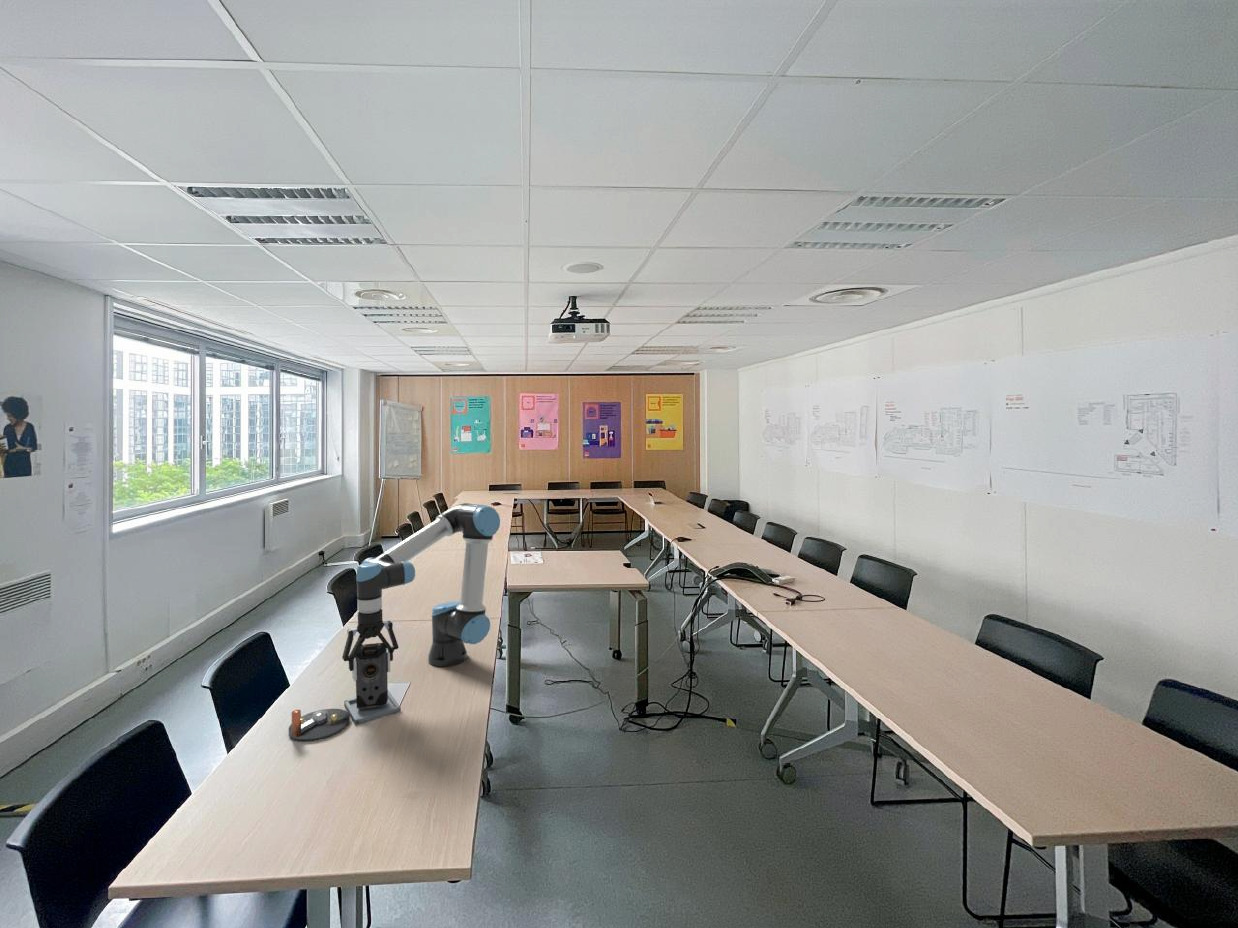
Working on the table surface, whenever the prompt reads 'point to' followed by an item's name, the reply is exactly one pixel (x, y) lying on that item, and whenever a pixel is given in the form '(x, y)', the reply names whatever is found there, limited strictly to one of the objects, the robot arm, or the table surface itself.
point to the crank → (316, 719)
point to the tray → (371, 710)
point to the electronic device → (371, 676)
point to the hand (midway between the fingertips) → (371, 675)
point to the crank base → (323, 726)
